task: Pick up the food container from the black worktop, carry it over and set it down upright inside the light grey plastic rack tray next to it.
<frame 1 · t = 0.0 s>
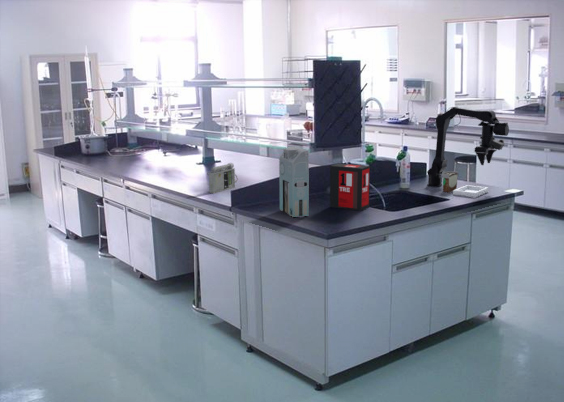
hand: (485, 164, 335), 15 cm above the table, tool pointing down, fingers open, 9 cm apart
rack tray: (470, 193, 333), on the table
device: (293, 214, 291), on the table
cleaning product box: (349, 207, 304), on the table
food container: (447, 191, 340), on the table
geiger counter: (224, 189, 350), on the table
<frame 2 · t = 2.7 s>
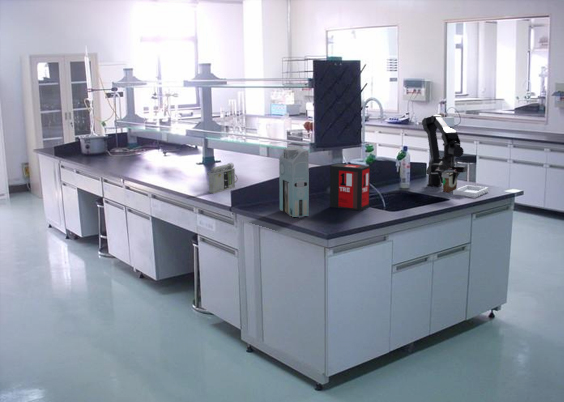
hand: (447, 183, 339), 4 cm above the table, tool pointing down, fingers closed on food container, 6 cm apart
food container: (447, 191, 340), on the table, touching gripper
everything else where it was.
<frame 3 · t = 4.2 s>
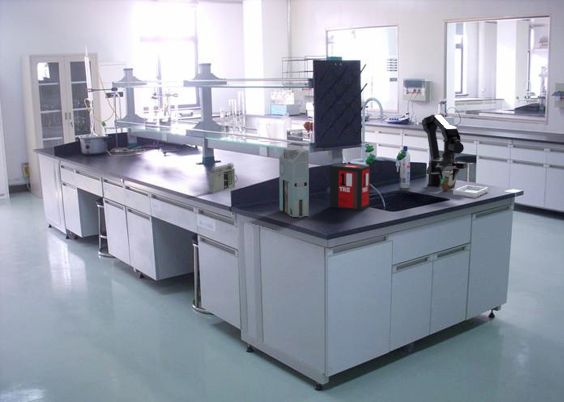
hand: (447, 180, 339), 6 cm above the table, tool pointing down, fingers closed on food container, 6 cm apart
food container: (445, 188, 341), point 1 cm above the table, touching gripper
everything else where it was.
when the fingers open (6 cm above the table, at t = 8.3 s): food container stays where it is, resting on rack tray.
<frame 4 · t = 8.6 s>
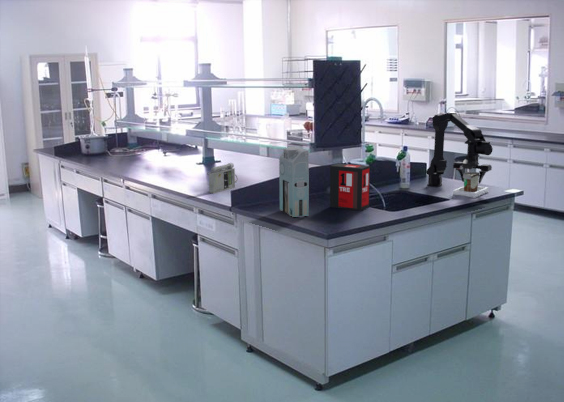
hand: (471, 182, 331), 6 cm above the table, tool pointing down, fingers open, 8 cm apart
food container: (468, 192, 333), resting on rack tray, touching gripper
everything else where it was.
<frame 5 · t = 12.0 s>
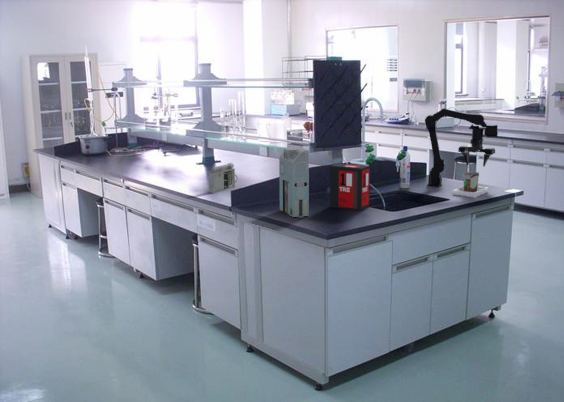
hand: (475, 165, 347), 12 cm above the table, tool pointing down, fingers open, 9 cm apart
food container: (468, 192, 333), resting on rack tray
everything else where it was.
at the end: food container inside the target area on the rack tray (1.5 cm from its centre), point 0.4 cm above the rack tray's base; food container tilted 0°; the gripper is holding nothing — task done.
